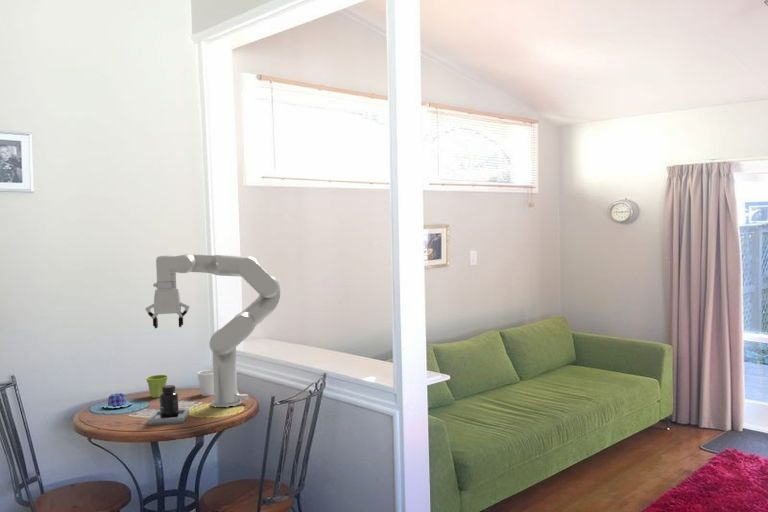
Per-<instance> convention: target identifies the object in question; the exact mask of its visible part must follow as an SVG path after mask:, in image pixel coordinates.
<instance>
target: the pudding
mask: <svg viewBox="0 0 768 512" xmlns="http://www.w3.org/2000/svg"><path fill="white" fill-rule="evenodd" d="M127 402H128V401H127V398H126V394H124V393H121V392H119V393H114V394H113V393H112V394H110V395H109V396H108V400H107V405H108V406H113V407H116V406H122V405H125V404H127Z"/></svg>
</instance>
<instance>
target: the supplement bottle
mask: <svg viewBox="0 0 768 512" xmlns="http://www.w3.org/2000/svg"><path fill="white" fill-rule="evenodd" d="M162 392H163V393H162V394H161V395H160V397H159V411H160V417H161V418H173V417H178V415H179V394H178V393H177V392H176V385H174V384H166V386H163V387H162Z"/></svg>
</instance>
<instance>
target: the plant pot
mask: <svg viewBox="0 0 768 512" xmlns="http://www.w3.org/2000/svg"><path fill="white" fill-rule="evenodd" d="M168 377H169V375H167V374H156V375H151V376H150V375H149V376H147V377H145V380H146V382H147V385H148V391H149V396H150V398H153V399H159V398H160V395H161V394H162V393H163V392H162V387H163V386H166V385H167V381H168ZM158 397H159V398H158Z"/></svg>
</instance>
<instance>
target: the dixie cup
mask: <svg viewBox="0 0 768 512" xmlns="http://www.w3.org/2000/svg"><path fill="white" fill-rule="evenodd" d="M196 374H197V379H198V382H199V385H198V386H199V391H200V395H201V396H203V397H207V396H209V397H210V396H214V383H213V369H207V370H206V369H205V370H202V371H197V373H196Z"/></svg>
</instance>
